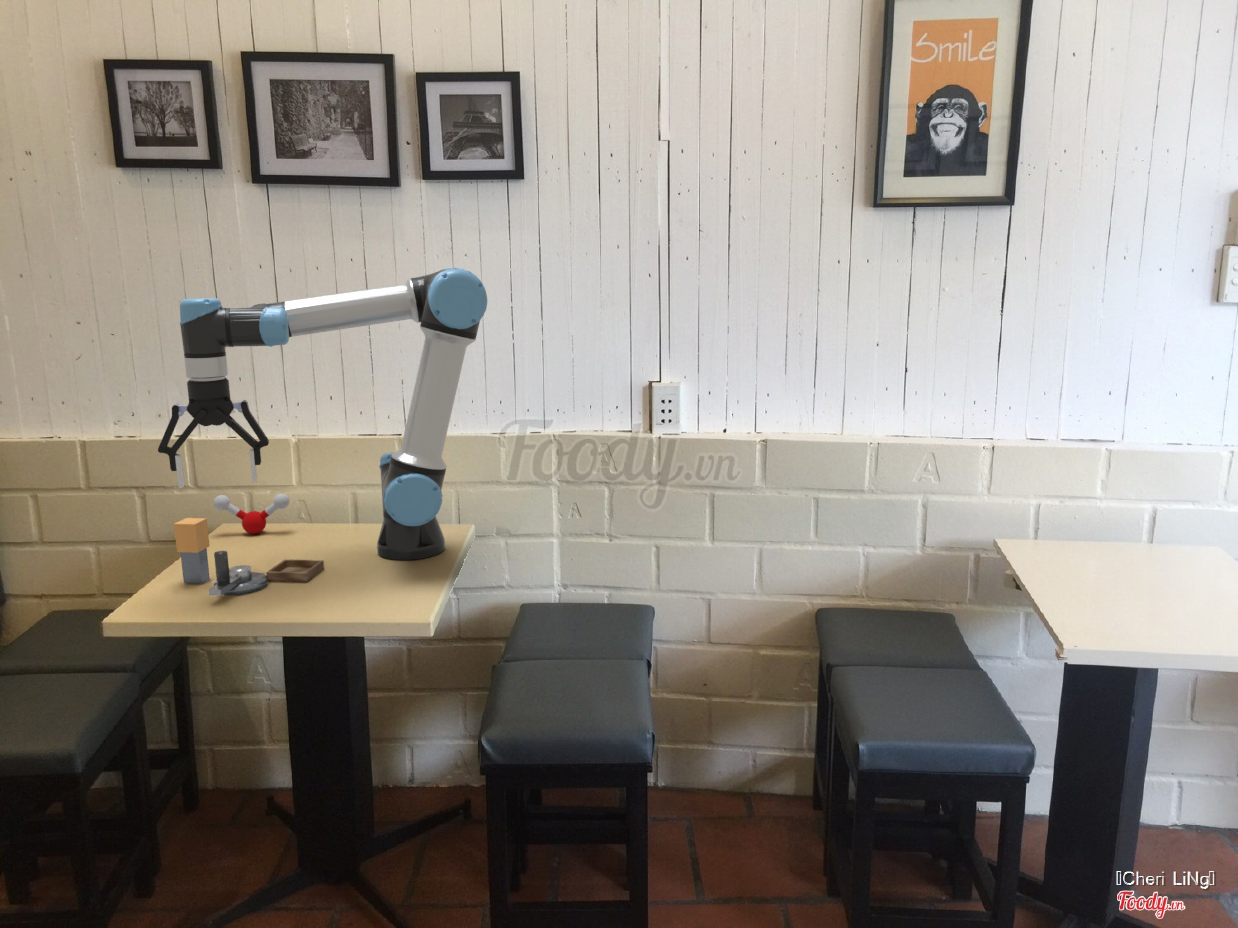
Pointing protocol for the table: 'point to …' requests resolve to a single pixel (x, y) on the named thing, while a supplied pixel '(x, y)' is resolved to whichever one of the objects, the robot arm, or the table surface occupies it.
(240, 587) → the crank base
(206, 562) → the gray block
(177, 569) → the table surface
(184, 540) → the orange wooden block
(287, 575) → the tray
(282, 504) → the molecular model
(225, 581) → the crank
